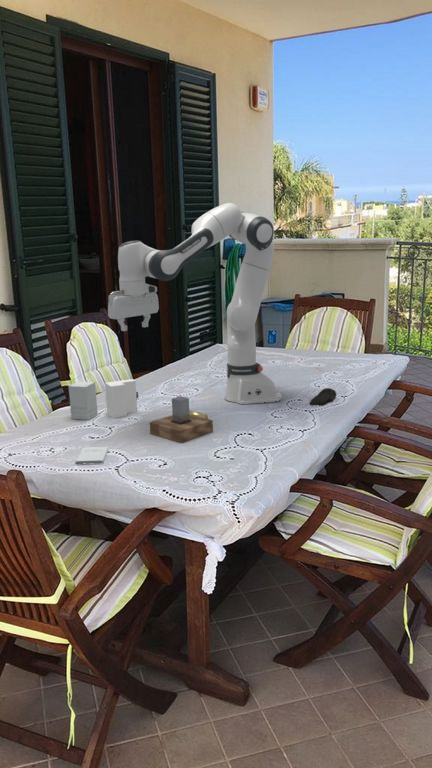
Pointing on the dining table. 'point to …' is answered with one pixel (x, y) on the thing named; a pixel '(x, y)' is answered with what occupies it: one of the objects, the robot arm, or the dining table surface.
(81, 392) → the supplement box
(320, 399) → the dark elongated pod
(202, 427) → the socket block
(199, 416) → the round bit
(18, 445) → the dining table surface
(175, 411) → the square bit
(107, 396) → the corner bracket
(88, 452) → the external hard drive
